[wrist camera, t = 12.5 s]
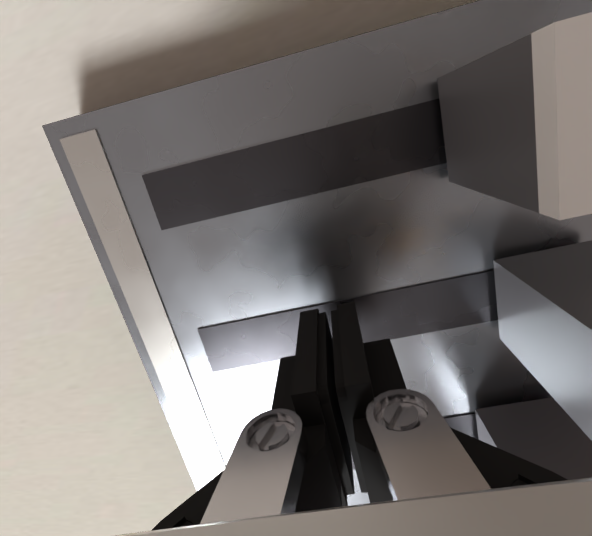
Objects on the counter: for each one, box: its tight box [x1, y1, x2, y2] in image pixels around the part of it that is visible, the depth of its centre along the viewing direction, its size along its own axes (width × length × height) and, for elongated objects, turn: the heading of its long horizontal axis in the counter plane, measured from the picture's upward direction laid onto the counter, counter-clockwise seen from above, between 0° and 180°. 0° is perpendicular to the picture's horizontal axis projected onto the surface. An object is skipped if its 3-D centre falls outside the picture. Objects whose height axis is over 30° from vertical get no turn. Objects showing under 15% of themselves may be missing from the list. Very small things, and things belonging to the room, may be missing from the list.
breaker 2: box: [475, 397, 592, 480], centre depth 11 cm, size 3×3×5 cm
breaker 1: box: [437, 12, 592, 220], centre depth 8 cm, size 3×3×5 cm
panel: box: [42, 0, 592, 506], centre depth 15 cm, size 18×23×2 cm
